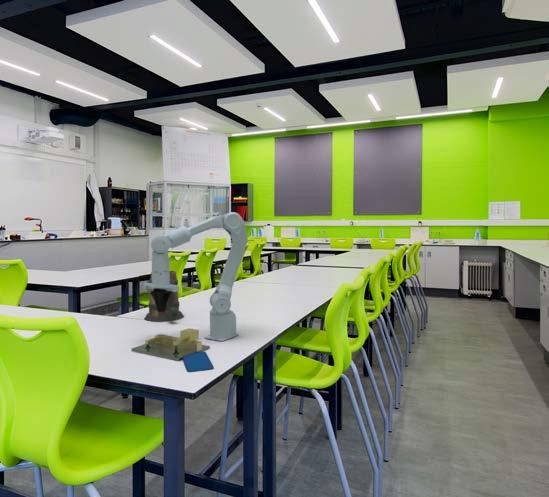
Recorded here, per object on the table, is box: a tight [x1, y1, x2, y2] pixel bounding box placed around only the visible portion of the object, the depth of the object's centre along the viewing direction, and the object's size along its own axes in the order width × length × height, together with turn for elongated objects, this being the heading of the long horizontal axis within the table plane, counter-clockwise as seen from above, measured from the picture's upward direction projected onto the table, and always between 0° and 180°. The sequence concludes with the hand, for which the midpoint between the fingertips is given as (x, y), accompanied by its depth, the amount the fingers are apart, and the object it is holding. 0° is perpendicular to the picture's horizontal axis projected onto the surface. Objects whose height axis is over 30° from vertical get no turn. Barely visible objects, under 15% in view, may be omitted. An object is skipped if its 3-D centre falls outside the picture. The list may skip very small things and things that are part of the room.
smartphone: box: [182, 351, 215, 373], centre depth 115 cm, size 7×1×15 cm
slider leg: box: [173, 328, 200, 353], centre depth 124 cm, size 8×4×5 cm, turn 150°
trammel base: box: [130, 333, 211, 362], centre depth 127 cm, size 14×20×3 cm
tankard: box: [143, 270, 185, 323], centre depth 170 cm, size 24×17×20 cm
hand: (161, 311), depth 135 cm, fingers closed
